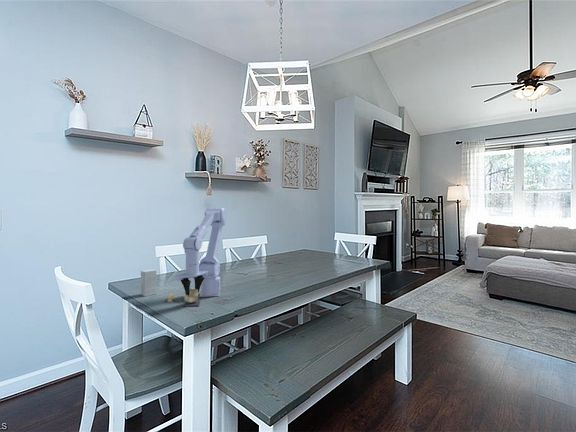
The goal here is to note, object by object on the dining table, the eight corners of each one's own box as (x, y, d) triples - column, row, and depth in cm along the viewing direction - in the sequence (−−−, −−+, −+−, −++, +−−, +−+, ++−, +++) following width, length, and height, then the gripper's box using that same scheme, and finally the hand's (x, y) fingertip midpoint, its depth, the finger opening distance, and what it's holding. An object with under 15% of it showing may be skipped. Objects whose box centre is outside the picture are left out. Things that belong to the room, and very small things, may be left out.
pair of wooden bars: (189, 297, 142) (189, 292, 142) (187, 301, 136) (187, 296, 136) (170, 297, 140) (170, 293, 140) (167, 301, 134) (167, 297, 134)
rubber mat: (200, 301, 136) (200, 300, 136) (198, 306, 129) (198, 304, 129) (186, 302, 134) (186, 300, 134) (183, 306, 128) (183, 305, 128)
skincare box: (152, 292, 149) (152, 268, 148) (156, 293, 146) (156, 270, 145) (140, 294, 144) (140, 270, 143) (144, 296, 141) (144, 272, 141)
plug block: (193, 299, 135) (193, 288, 135) (198, 300, 132) (197, 289, 132) (185, 301, 132) (185, 290, 132) (189, 302, 129) (189, 291, 129)
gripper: (202, 260, 139) (202, 288, 140) (172, 264, 129) (172, 295, 129) (210, 262, 134) (210, 291, 135) (180, 267, 124) (180, 298, 124)
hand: (192, 293), depth 132 cm, fingers closed on plug block, 4 cm apart
